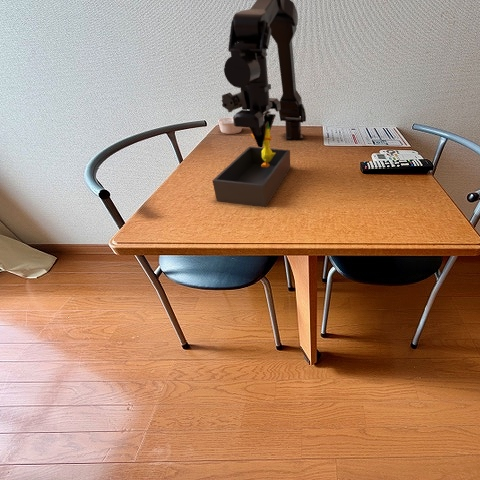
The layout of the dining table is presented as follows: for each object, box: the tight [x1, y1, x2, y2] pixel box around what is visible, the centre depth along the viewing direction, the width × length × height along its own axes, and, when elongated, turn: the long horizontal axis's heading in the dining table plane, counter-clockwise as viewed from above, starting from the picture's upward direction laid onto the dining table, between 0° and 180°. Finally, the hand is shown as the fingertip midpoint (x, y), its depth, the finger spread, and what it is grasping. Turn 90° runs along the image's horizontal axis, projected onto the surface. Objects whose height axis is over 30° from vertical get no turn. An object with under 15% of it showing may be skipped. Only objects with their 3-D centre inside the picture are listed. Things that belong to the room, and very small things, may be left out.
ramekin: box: [217, 116, 243, 135], centre depth 112 cm, size 9×9×4 cm
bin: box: [212, 146, 291, 208], centre depth 76 cm, size 23×12×6 cm, turn 170°
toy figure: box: [250, 123, 276, 167], centre depth 78 cm, size 7×4×12 cm, turn 80°
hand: (262, 145), depth 78 cm, fingers closed on toy figure, 2 cm apart
